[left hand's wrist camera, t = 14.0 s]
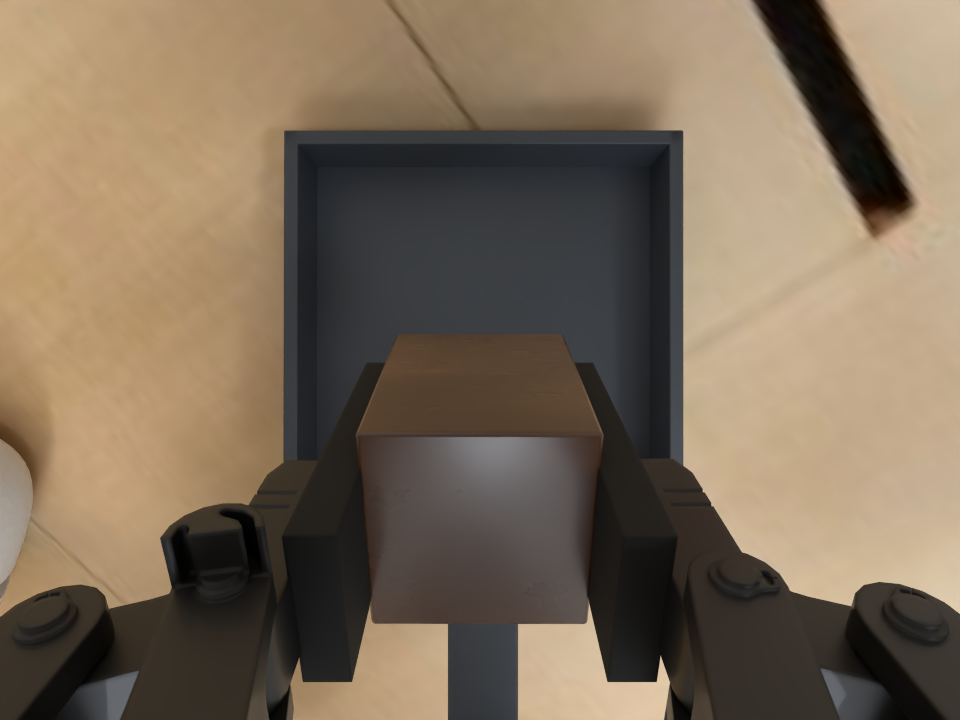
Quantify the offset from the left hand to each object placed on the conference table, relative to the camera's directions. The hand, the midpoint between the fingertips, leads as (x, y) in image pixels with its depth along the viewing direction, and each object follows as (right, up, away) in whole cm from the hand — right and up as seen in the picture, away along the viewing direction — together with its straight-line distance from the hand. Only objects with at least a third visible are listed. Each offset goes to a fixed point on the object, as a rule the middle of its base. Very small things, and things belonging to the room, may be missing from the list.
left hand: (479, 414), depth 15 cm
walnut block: (0, 0, 0) cm, 0 cm away
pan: (0, -3, +14) cm, 15 cm away
